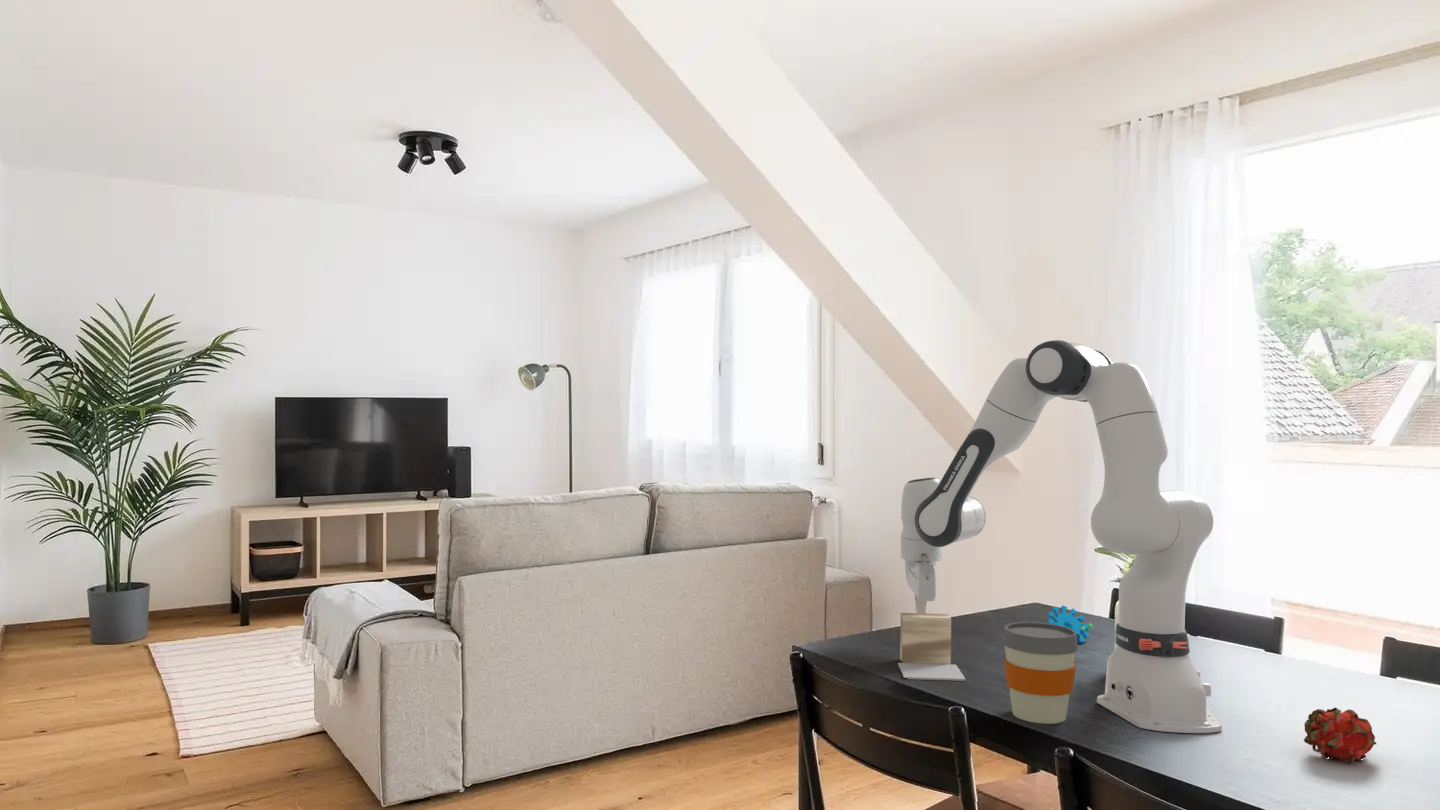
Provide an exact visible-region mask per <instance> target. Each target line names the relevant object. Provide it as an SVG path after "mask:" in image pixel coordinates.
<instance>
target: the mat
mask: <svg viewBox="0 0 1440 810" xmlns="http://www.w3.org/2000/svg"><path fill="white" fill-rule="evenodd" d="M898 665H899V666H898ZM897 666H898V668H900V669H899V671H900V670H901V671H900V672H902V673H901V675H902V674H903V675H902V677H904V678H907V679H906V680H924V681H925V680H927V681H928V680H929V681H952V682H955V681H957V682H966V681H967V680H966V678H965V676H964V674H963V673H962V671H961V669H960V668H959V667H958V665H957V664H952V663H951V664H919V663H901V662H898V663H897ZM904 678H903V679H904Z"/></svg>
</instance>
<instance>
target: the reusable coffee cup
mask: <svg viewBox="0 0 1440 810" xmlns="http://www.w3.org/2000/svg"><path fill="white" fill-rule="evenodd" d="M1003 628H1004V629H1003V636H1002V637H1003V638H1002V644H1003V646H1004V650H1005V657H1004V658H1003V662H1004V670H1005V671H1004V672H1005V680H1006V685H1007V686H1008V688H1009V695H1010V703H1011V711H1012V712H1011V713H1012V714H1013V716H1014V717H1016V718H1018V719H1019V720H1023V721H1025V722H1030V723H1036V724H1047V725H1049V724H1060V723H1063V722H1065V721H1066V719H1067V715H1068V714H1067V712H1068V707H1069V701H1070V699H1069V698H1070V694H1071V693H1072V692H1073V688H1074V683H1075V682H1074V681H1075V675H1076V670H1077V664H1076V663H1075V658H1076V652H1078V650H1079V646H1078V637H1077V634H1076V632H1075V631H1074V630H1072V629H1070V628H1067V627H1064V626H1059V625H1054V624H1048V622H1047V623H1045V622H1032V621H1030V622H1029V621H1028V622H1026V621H1025V622H1024V621H1023V622H1013V623H1009V624H1006V625H1005V626H1004V627H1003Z"/></svg>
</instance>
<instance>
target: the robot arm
mask: <svg viewBox="0 0 1440 810" xmlns="http://www.w3.org/2000/svg"><path fill="white" fill-rule="evenodd" d="M1151 391H1152V390H1151V389H1150V386H1149V384H1148V382H1147V380H1146V378H1145V375H1144V374H1143V372H1142V371H1141V369H1140V368H1139V367H1138V366H1136V365H1135V364H1133V363H1129V362H1114V363H1113V361H1112V360H1111V359H1110V358H1109V357H1108V356H1107V355H1106V354H1104V353H1103V352H1101V351H1099V350H1097V349H1092V348H1089V347H1087V346H1085V345H1083V344H1080V343H1076V342H1069V341H1066V340H1065V341H1064V340H1059V339H1058V340H1048V341H1044V342H1042V343H1040V344H1037V345H1036V346H1035V347H1034V348H1033V349H1032V350H1031V351H1030V352H1029V354H1028V356H1027V358H1026V357H1022V358H1021V357H1018V358H1015V359H1013V360H1011V361H1010V362H1009V363H1008V364H1007V366H1006V367H1005V368H1004V369H1003V371H1002V372H1001V373H1000V375H999V376H998V378H997V379H996V381H995V382H994V384H993V386H992V387H991V389H990V391H989V393H988V395H987V397H986V399H985V401H984V403H983V406H982V408H981V409H980V411H979V414H978V415H977V418H975V421H974V423H973V426H972V427H971V428H970V431H969V432H968V434H967V436H966V438H965V439H964V441H962V442H963V443H962V444H961V445H960V447H959V448H958V450H957V452H956V453H955V455H954V456H953V459H952V460H951V462H950V464H949V466H948V468H947V469H946V471H945V473H944V475H943V476H942V478H941V480H940V479H939V478H936V477H927V478H926V477H925V478H915V479H911V480H909V481H907V483H906V484H905V485H904V487H903V490H902V496H901V497H902V498H901V508H900V509H901V510H900V511H901V513H900V518H901V522H902V531H901V534H900V558H901V559H902V560H904V566H905V567H904V569H905V578H906V583H907V585H908V587H909V588H910V589H911V591H912V592H913V595H914V596H913V597H914V602H915V613H924V614H927V613H926V612H927V611H926V610H927V609H926V607H927V602H934V601H936V596H937V590H936V587H937V586H936V585H937V583H936V567H937V566H936V562H939V561H942V560H943V559H942V552H943V549H942V548H943V547H946V546H948V545H951V544H953V543H956V542H961V541H964V540H968V539H970V538H973V537H975V536H977V535H979V534H980V533H981V531H982V530H983V528H984V527H985V524H986V513H985V509H984V506H983V505H982V503H981V502H980V501H979V500H978V499H977V498H975V497H973V496H971V495H970V494H971V493H972V491H973V490H974V488H975V486H976V484H977V483H978V481H979V479H980V478H981V475H983V473H984V472H985V470H986V469H987V468H988V467H989V466H990V465H992V464H993V463H994V462H996V461H998V460H999V459H1001V458H1002V457H1005V456H1007V455H1009V454H1010V453H1012V452H1015V451H1017V450H1019V448H1021V446H1022V445H1023V444H1024V443H1025V442H1026V441H1027V440H1028V437H1030V435H1031V434H1032V431H1033V429H1034V428H1035V425H1036V424H1037V422H1038V420H1039V417H1040V416H1041V414H1042V411H1043V410H1044V408H1045V406H1046V405H1047V404H1048V402H1049V401H1051V400H1052V399H1055V398H1061V399H1064V400H1067V401H1077V402H1083V403H1085V402H1086V403H1087V402H1088V404H1089V406H1090V408H1091V410H1092V413H1093V417H1094V423H1095V426H1096V427H1095V428H1096V431H1097V435H1098V439H1099V444H1100V448H1101V454H1102V459H1103V464H1104V465H1103V467H1104V481H1103V487H1102V494H1101V496H1100V499H1099V501H1098V502H1097V503H1096V505H1095V506H1094V508H1093V510H1092V511H1091V515H1090V528H1091V532H1092V534H1093V537H1094V538H1095V540H1096V542H1097V543H1098V544H1099V545H1100V546H1101V547H1102V548H1105V549H1107V550H1110V551H1113V552H1118V553H1123V554H1128V555H1135V557H1134V560H1133V562H1132V565H1131V567H1130V568H1129V570H1127V572H1126V573H1125V574H1124V575H1123V577H1122V578H1121V580H1120V582H1119V584H1118V622H1117V623H1116V626H1115V631H1114V636H1115V644H1116V647H1115V650H1114V651H1113V652H1112V653H1110V655H1109V656H1108V657H1107V662H1106V674H1105V685H1104V686H1105V687H1104V694H1100V695H1098V696H1097V697H1096V703H1097V704H1099V705H1101V706H1102V707H1103V708H1105V709H1107V710H1109V711H1110V712H1112V713H1114V714H1116V715H1117V716H1118V717H1121V718H1122V719H1124V720H1126V721H1127V722H1130V724H1132V725H1134V726H1136V727H1138V728H1140V729H1145V730H1151V731H1156V732H1164V733H1165V732H1166V733H1178V734H1179V733H1182V734H1211V733H1218V732H1222V731H1223V727H1222V724H1221V723H1220V720H1218V718H1217V717H1216V716H1215V714H1213V712H1212V711H1211V710H1210V708H1209V707H1208V705H1207V698H1208V697H1211V694H1212V689H1211V685H1210V683H1208V682H1202V680H1201V672H1200V671H1199V670H1196V668H1195V666H1194V664H1193V663H1192V660H1191V657H1190V655H1189V653H1190V652H1191V651H1190V645H1189V644H1190V641H1189V637H1188V632H1187V630H1186V629H1185V627H1186V626H1185V622H1186V621H1185V620H1186V618H1185V617H1186V597H1187V595H1186V594H1187V587H1188V583H1189V578H1190V573H1191V571H1192V567H1193V564H1194V563H1195V559H1196V556H1197V553H1198V551H1199V550H1200V548H1201V547H1202V544H1203V543H1204V542H1205V541H1206V540H1207V539H1208V538H1209V537H1210V535H1211V533H1212V531H1213V527H1214V517H1213V516H1214V515H1213V512H1212V509H1211V508H1210V506H1209V505H1208V504H1207V502H1206V501H1205V500H1203V499H1202V498H1201V497H1199V496H1198V495H1197V496H1196V495H1194V494H1191V493H1188V492H1183V491H1180V490H1179V491H1178V490H1161V491H1160V487H1159V486H1160V485H1159V483H1160V482H1159V480H1160V479H1159V477H1160V470H1161V467H1162V465H1163V464H1164V462H1166V460H1167V457H1168V453H1169V451H1168V450H1169V448H1168V446H1167V443H1166V438H1165V435H1164V432H1163V431H1164V430H1163V427H1162V423H1161V420H1160V416H1159V411H1158V407H1157V405H1156V402H1155V399H1154V396H1153V394H1152V392H1151Z"/></svg>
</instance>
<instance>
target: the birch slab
mask: <svg viewBox="0 0 1440 810" xmlns="http://www.w3.org/2000/svg"><path fill="white" fill-rule="evenodd" d="M899 630H900V634H899V635H900V636H899V637H900V638H899V640H900V641H899V644H900V646H899V647H900V648H899V660H900V659H901V660H900V662H901V661H902V663H919V664H951V665H952V663H951V661H952V617H951V616H950V614H948V613H925V614H924V613H917V612H915V613H914V612H900V629H899Z"/></svg>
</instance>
